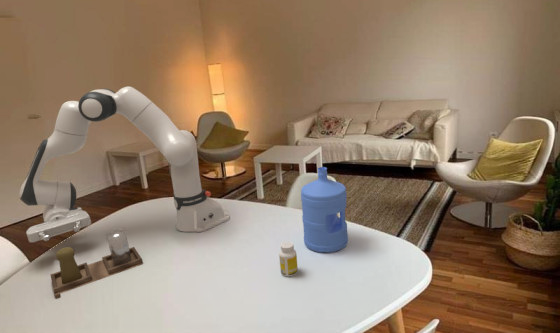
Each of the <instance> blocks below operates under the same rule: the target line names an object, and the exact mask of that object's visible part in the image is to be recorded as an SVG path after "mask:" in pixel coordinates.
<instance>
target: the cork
mask: <svg viewBox="0 0 560 333" xmlns="http://www.w3.org/2000/svg"><path fill="white" fill-rule="evenodd" d="M74 256H75V250H74V248H72V247H71V246H69V247H68V246H67V247H62V248H60V249H59V250H57V251H56V252H55V257H56V260H57V261H59V268H60V269H59V271H61V279H62V284H67V283H69V282H72V281H75V280H78V279H81V278H82V274H81V272H80V270H79V268H78V266H77V265H78V263H77V262H76V259H75V257H74Z"/></svg>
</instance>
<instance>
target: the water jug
mask: <svg viewBox="0 0 560 333" xmlns="http://www.w3.org/2000/svg"><path fill="white" fill-rule="evenodd" d="M327 170H328V168H327V167H325V166H320V167H318V168H317V176H318V178H317V179H315V180H313V181H311V182H309V183H306V184H305V185H303V186H302V187H301V189H300V199H301V200H300V202H301V209H302V211H301V212H302V216H301V219H302V225H303V243H304V246H306V247H307V248H308V249H309V250H311V251H314V252H317V253H323V252H328V253H333V252H334V251H335V252H337V250H338V251H341V250H342V249H344V248H345V247H346V246H347V245H348V242H349V234H348V223H347V221H346V208H347V199H348V197H347V195H348V194H347V189H346V185H344V184H343V183H341V182H339V181H335V180H332V179H329V178H328V171H327ZM338 214H339V216H338Z"/></svg>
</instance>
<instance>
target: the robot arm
mask: <svg viewBox="0 0 560 333" xmlns="http://www.w3.org/2000/svg"><path fill="white" fill-rule="evenodd" d="M115 114H119V115H121V116H122V117H124V118H125V119H127V120H128V121H129V122H130V123H131V124H132V125H134V126H135V127H136V128H137V129H138V130H139V131H140V132H141V133H143V134H144V135H145V136H146V137H147V138H148V139H149V141H151V143H152V144H153V145H154V146H155V147H156V148H157V150H158V151H159V152H160V153H161V154H162V155H163V157H164V158H165V160H166V161H167V162H168V163H169V164H170V175H171V176H170V177H171V184H172V189H173V203H174V207H175V210H176V220H175V222H176V224H175V229H176V230H177V231H179V232H184V233H186V232H198V233H202V232H204V231H206V230H209V229H211V228H213V227H215V226H218V225H220V224H222V223H225V222H227V221H229V220H230V218H231V217H230V214H229V212H227V211H226V210H224V209H223V207H222V205H221V204H220V203H219V202H218V201H217V200H215V199H213V198H210V197H211V196H212V193H211V191H208V190H206V189H203V188H202V183H201V177H200V168H199V157H198V149H197V148H198V147H197V146H198V145H197V139H196V138H195V136H194V134H192V133H191V132H190V131H189V130H185V129H181V130H180V129H179V128H178V127H177V126H176V125H175V123H174V122H172V119H170V117H169V116H168V115H167V114H166V113H165V112H164V111H163V110H162V109H161V108H160V107H158V106H157V105H156V104H155V103H154V102H153V101H152V100H151V99H150V98H148V96H146V95H145V94H143V93H142V92H141V91H140V90H138V89H136V88H135V87H133V86H124V87H122V88H120V89H118V90H117V91H116V92H115V91H113V90H112V89H109V88H100V89H94V90H93V89H92V90H91V91H88V92H86V93H84V94H83V95H82V96H81V97H80V99H79V101H77V100H68V101H66V102H63V103H62V105H61V106H60V109H59V111H58V113H57V117H56V121H55V124H54V129H53V132H52V134H51V135H50V136H49V137H48V138H46V139H43V140H42V141H41V143H40V144H39V146H38V148H37V151H36V153H35V155H34V158H33V160H32V162H31V164H30V167H29V170H28V173H27V175H26V177H25V179H24V181H23V183H22V185H21V186H20V189H19V199H20V201H21V202H23V203H24V204H25V205H26V206H29V207H30V206H44V208H43V212H42V218H43V222H42V223H39V224H35V225H33V226H30V227H29V228H28V229H27V230H26V233H25V234H26V236H27V239H28V242H29V243H36V242H38V241H44V242H47V241H49V240H50V238H53V237H55V236H59V235H62V234H65V233H68V232H71V231H74V233H76V232H80V230H81V229H82V228H86V227H88V226H90V225H91V224H92V220H91V217H90V215H89V213H88V212H87V211H86V210H83V209H82V207H79V206H78V207H75V206H76V202H77V188H76V187H75V186H74V184H73V183H72V182H71V181H62V180H50V179H49V180H47V179H41V176H42V174H43V172H44V170H45V166H46V164H47V162H49V161H50V160H52V159H53V158H57V157H63V156H67V155H72V154H74V153H77V152H79V151H80V150H81V149H82V148H84V147H85V145H86V142H87V138H88V133H89V128H90V125H91V123H92V122H94V123H95V122H102V121H103V122H104V121H105V120H107V119H110V118H112V117H113V116H114V115H115Z"/></svg>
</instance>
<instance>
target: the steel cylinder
mask: <svg viewBox="0 0 560 333" xmlns="http://www.w3.org/2000/svg"><path fill="white" fill-rule="evenodd" d="M106 239H107V242H108V248H109V251H110V255H111V256H112V261H113V265H114V266H119V265H122V264H124V263H127V262H130V261H132V259H131V254H130V250H129V248H130V246H129V240H128V237H127V233H126V229H121V228H120V229H119V228H118V229H114V230H112V231H110V232H108V233H107V234H106Z"/></svg>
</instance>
